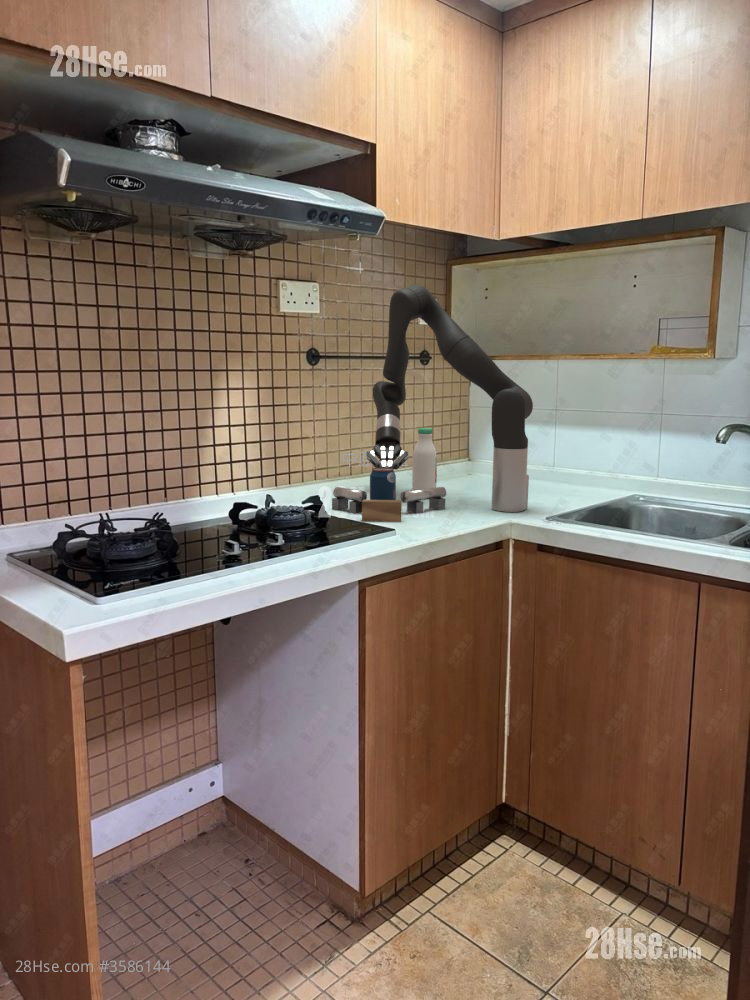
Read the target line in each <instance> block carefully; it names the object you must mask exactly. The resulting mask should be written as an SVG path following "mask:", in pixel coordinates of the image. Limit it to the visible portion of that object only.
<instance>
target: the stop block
mask: <svg viewBox="0 0 750 1000" xmlns="http://www.w3.org/2000/svg"><path fill="white" fill-rule="evenodd" d="M402 503H403V502H402V500H401V499H399V500H398V499H396V500H370V499H366V500H363V501H362V513H361V522H395V523H396V522H399V523H400V522H402V512H403V511H402V507H403V506H402V505H403V504H402Z"/></svg>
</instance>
